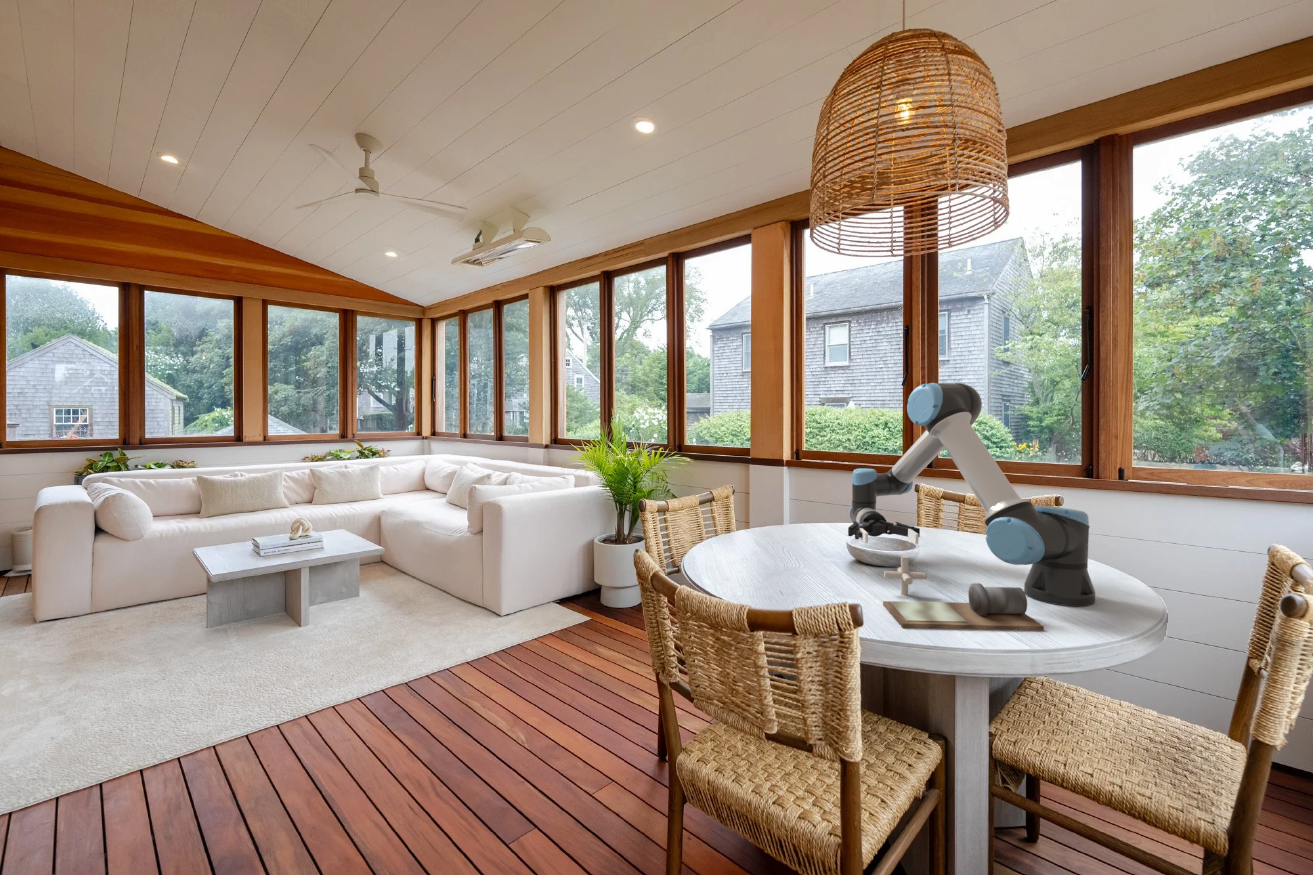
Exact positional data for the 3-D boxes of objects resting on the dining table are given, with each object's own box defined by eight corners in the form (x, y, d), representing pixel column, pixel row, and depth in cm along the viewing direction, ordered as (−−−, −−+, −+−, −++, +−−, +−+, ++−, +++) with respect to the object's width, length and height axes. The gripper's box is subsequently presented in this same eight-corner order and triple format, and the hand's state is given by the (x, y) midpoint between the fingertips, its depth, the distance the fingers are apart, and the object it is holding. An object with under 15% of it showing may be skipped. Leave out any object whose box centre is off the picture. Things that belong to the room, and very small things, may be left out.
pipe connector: (929, 601, 149) (930, 562, 149) (887, 599, 151) (888, 561, 151) (920, 589, 159) (920, 552, 159) (881, 587, 161) (881, 551, 161)
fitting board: (1009, 607, 144) (1010, 576, 144) (1043, 630, 129) (1044, 595, 129) (883, 605, 147) (883, 574, 147) (902, 627, 132) (902, 593, 132)
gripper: (912, 534, 185) (937, 552, 164) (830, 533, 187) (845, 550, 166) (912, 511, 185) (938, 525, 163) (831, 510, 187) (846, 524, 166)
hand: (891, 538), depth 165 cm, fingers open, 13 cm apart
